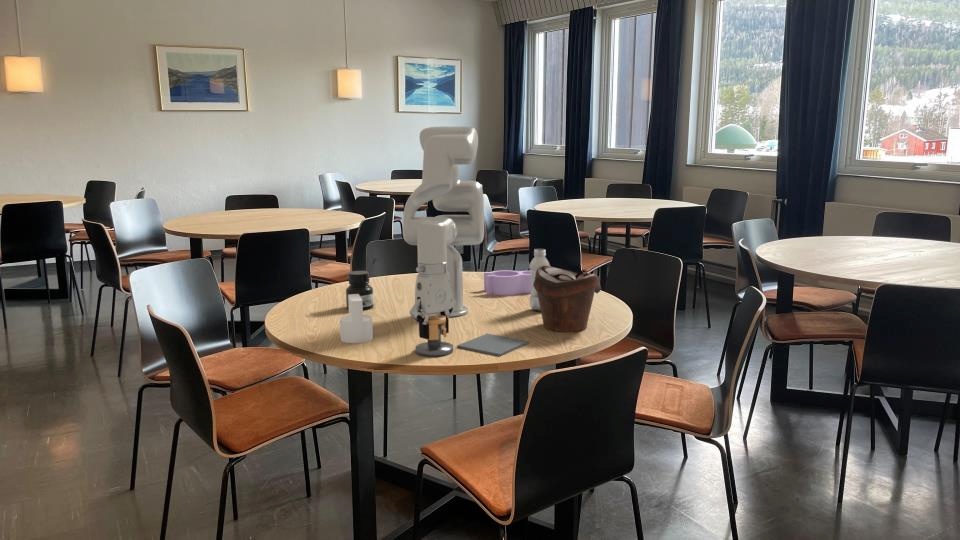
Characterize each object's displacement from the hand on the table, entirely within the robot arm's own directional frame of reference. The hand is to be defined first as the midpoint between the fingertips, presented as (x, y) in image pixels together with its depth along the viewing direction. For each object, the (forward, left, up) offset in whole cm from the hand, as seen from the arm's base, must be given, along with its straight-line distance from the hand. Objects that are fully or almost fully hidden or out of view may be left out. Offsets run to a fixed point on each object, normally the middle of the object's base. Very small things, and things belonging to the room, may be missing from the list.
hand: (434, 334), depth 187 cm
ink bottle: (-52, +24, -5) cm, 57 cm away
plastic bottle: (0, +54, -5) cm, 54 cm away
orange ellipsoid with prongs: (0, 0, 0) cm, 0 cm away
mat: (+10, +13, -5) cm, 17 cm away
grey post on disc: (0, 0, -5) cm, 5 cm away
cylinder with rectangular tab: (-26, -3, -5) cm, 27 cm away
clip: (-23, +73, -5) cm, 77 cm away
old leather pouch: (+17, +41, -5) cm, 45 cm away
